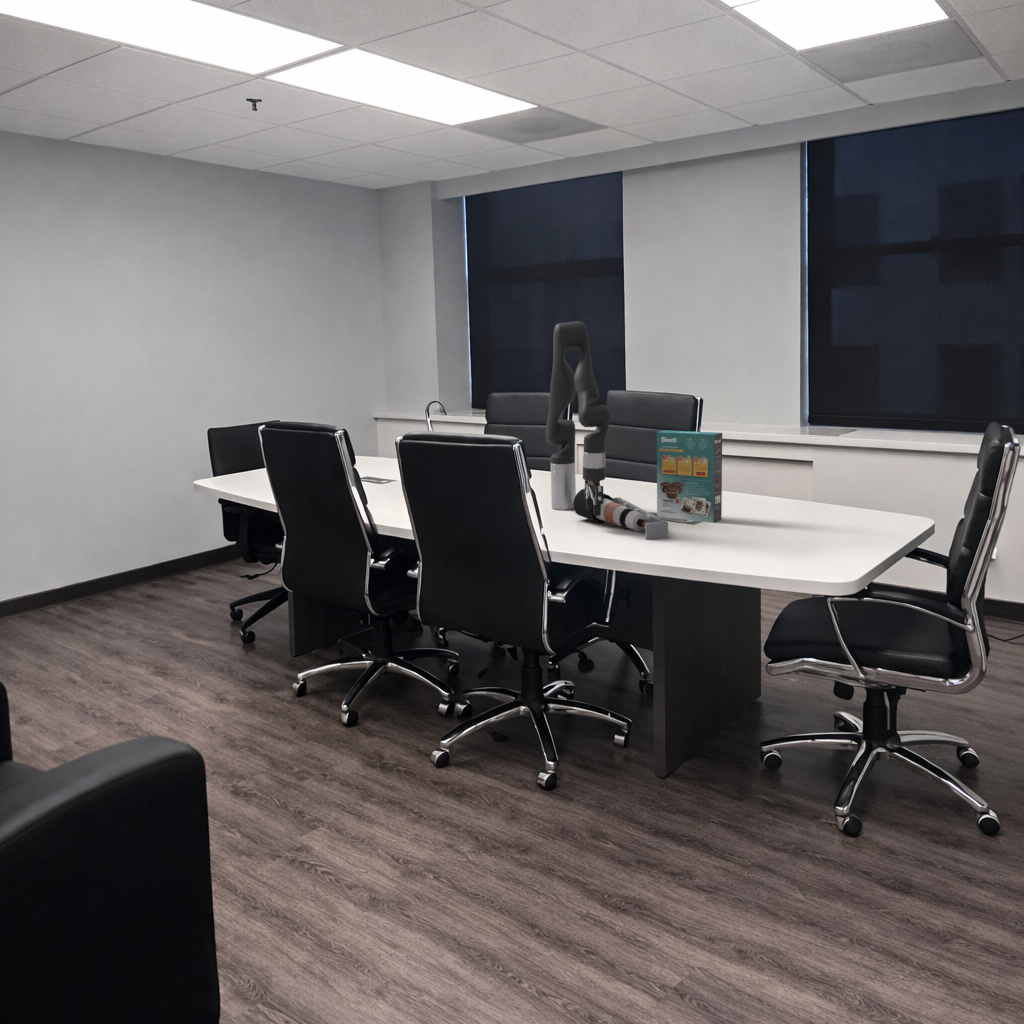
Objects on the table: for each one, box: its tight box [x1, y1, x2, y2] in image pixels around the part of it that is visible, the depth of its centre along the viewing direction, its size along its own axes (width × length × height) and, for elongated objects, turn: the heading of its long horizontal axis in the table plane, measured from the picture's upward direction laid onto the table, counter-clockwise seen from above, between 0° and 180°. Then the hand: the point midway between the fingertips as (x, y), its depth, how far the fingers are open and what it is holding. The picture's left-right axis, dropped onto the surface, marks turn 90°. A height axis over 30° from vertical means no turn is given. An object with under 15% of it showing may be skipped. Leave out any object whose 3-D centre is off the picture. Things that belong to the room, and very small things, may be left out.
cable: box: [573, 488, 649, 532], centre depth 312 cm, size 10×34×10 cm, turn 34°
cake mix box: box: [656, 430, 723, 523], centre depth 319 cm, size 22×6×30 cm, turn 51°
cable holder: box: [612, 497, 669, 540], centre depth 315 cm, size 50×7×5 cm, turn 11°
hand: (593, 513), depth 311 cm, fingers open, 8 cm apart
